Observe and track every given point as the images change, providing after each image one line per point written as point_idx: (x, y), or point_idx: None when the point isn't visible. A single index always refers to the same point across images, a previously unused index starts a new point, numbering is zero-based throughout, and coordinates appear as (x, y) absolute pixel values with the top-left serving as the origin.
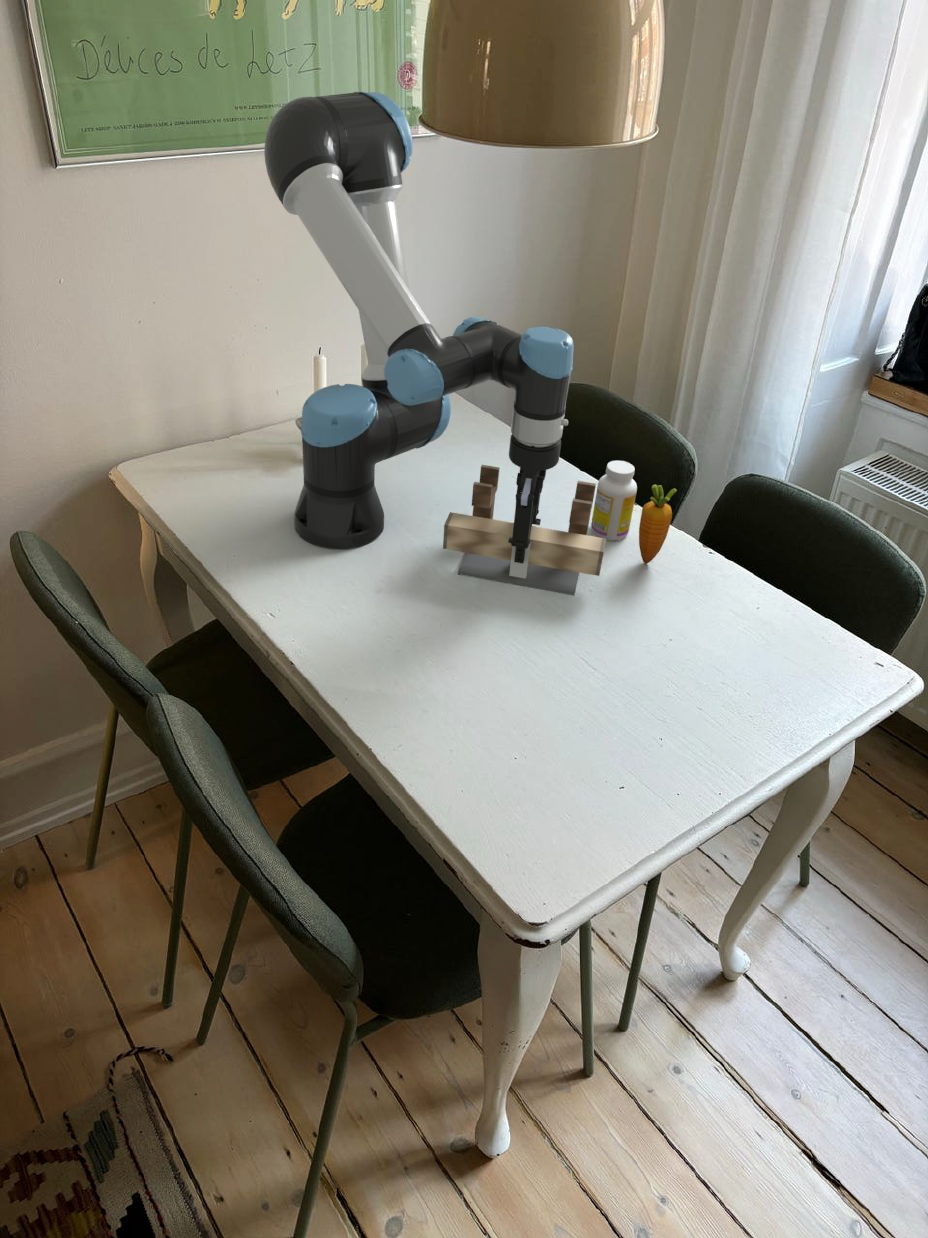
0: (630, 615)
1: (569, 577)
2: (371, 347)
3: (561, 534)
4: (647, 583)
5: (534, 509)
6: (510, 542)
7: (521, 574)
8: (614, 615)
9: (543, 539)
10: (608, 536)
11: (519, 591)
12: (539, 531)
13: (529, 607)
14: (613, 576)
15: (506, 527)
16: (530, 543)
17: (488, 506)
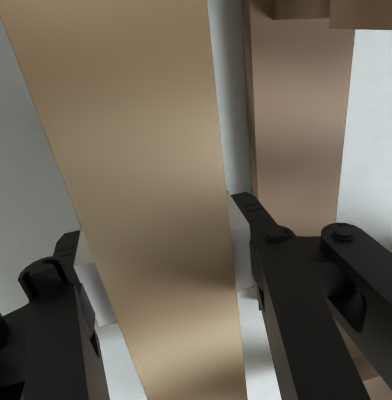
0: (132, 394)
1: None
2: None
3: (221, 381)
4: (247, 376)
5: (276, 373)
6: (29, 278)
7: None
8: (115, 380)
9: (152, 359)
10: None
11: (73, 208)
12: (205, 326)
13: (18, 256)
14: (246, 334)
15: (165, 203)
16: (112, 320)
17: (338, 17)
